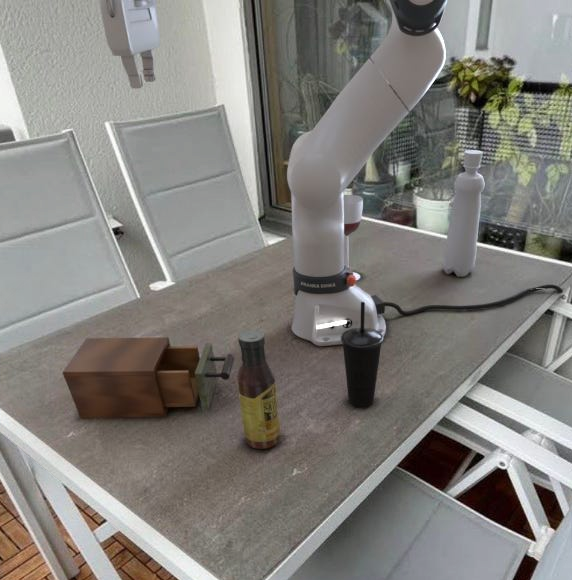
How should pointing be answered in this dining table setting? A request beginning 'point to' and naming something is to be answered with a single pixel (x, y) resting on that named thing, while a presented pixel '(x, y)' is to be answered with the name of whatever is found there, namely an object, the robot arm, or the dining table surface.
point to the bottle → (464, 218)
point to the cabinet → (117, 377)
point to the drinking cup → (361, 362)
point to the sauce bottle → (257, 393)
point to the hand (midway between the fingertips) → (144, 84)
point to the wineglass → (351, 220)
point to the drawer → (190, 375)
